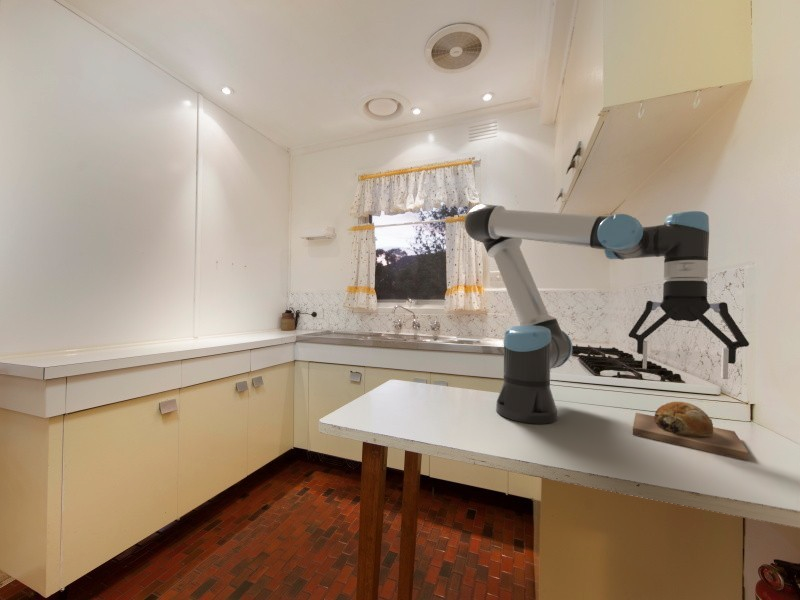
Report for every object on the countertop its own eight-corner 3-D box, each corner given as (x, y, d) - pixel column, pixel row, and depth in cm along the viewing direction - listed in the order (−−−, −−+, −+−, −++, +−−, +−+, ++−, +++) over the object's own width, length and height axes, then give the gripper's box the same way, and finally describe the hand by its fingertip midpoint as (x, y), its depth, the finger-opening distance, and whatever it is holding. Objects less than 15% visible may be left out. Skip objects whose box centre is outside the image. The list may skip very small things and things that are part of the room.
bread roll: (716, 457, 66) (735, 424, 66) (666, 431, 68) (684, 399, 67) (683, 437, 76) (700, 409, 75) (640, 416, 78) (656, 387, 77)
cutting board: (632, 434, 72) (632, 427, 72) (635, 418, 83) (635, 412, 83) (748, 460, 61) (748, 452, 61) (734, 437, 71) (734, 431, 71)
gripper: (617, 280, 77) (614, 366, 77) (771, 278, 61) (768, 386, 61) (620, 282, 83) (617, 362, 83) (761, 281, 67) (759, 379, 67)
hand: (682, 372), depth 72 cm, fingers open, 13 cm apart
